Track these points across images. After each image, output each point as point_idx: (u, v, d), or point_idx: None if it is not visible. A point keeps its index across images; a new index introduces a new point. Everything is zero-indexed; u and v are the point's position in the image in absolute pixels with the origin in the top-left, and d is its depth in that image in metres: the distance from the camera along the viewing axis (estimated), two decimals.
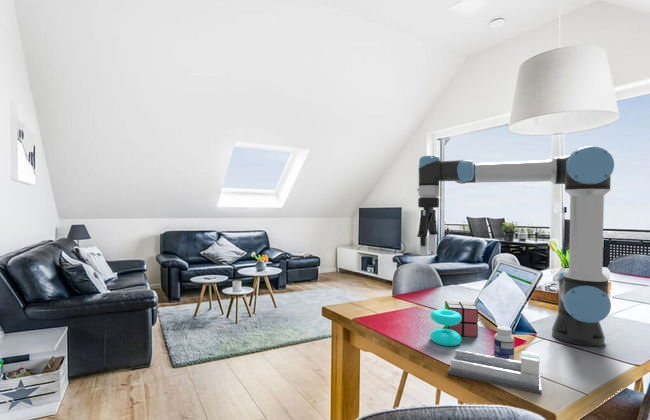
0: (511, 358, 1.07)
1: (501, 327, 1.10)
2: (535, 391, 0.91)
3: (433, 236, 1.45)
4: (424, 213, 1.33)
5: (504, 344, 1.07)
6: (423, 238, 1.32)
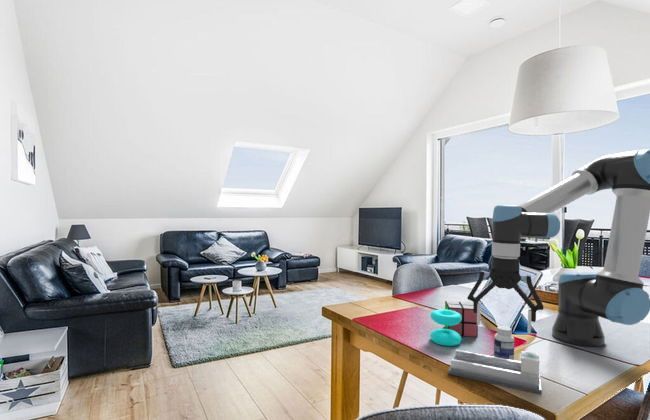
0: (511, 358, 1.07)
1: (501, 327, 1.10)
2: (535, 391, 0.91)
3: (528, 312, 1.06)
4: None
5: (504, 344, 1.07)
6: None
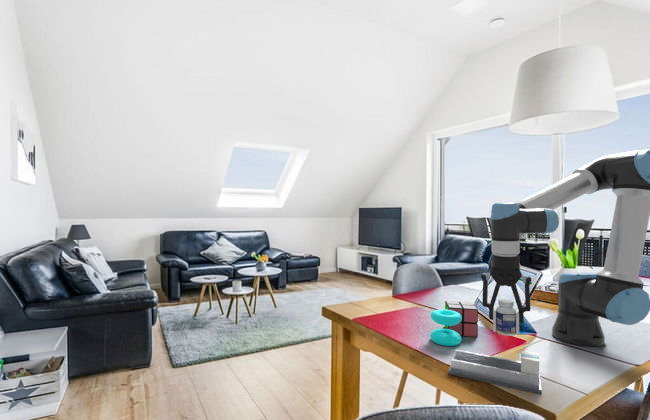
0: (514, 330, 1.07)
1: (503, 300, 1.10)
2: (535, 391, 0.91)
3: (516, 314, 1.08)
4: (482, 278, 1.12)
5: (506, 316, 1.07)
6: None
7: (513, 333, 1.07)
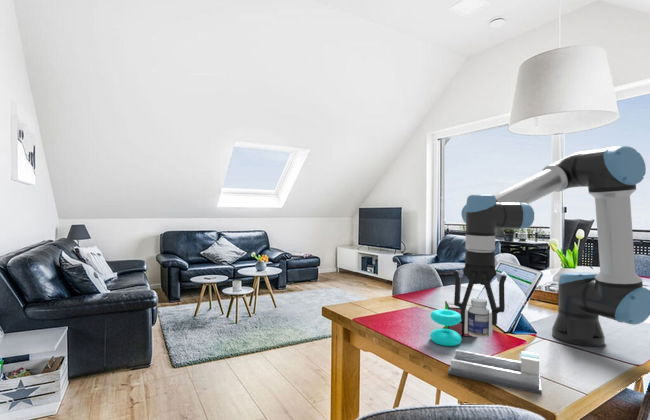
0: (486, 332, 0.99)
1: (476, 299, 1.02)
2: (535, 391, 0.91)
3: (489, 315, 1.00)
4: None
5: (478, 317, 0.99)
6: None
7: (485, 335, 0.99)
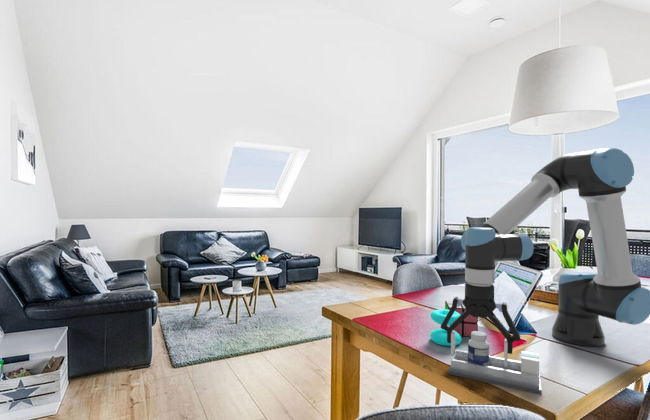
0: None
1: (475, 332, 1.02)
2: (535, 391, 0.91)
3: (504, 343, 0.98)
4: None
5: (478, 351, 0.99)
6: None
7: None
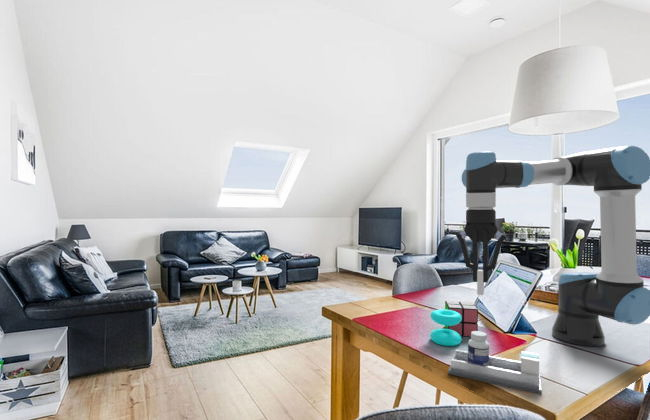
0: None
1: (475, 332, 1.02)
2: (535, 391, 0.91)
3: None
4: None
5: (478, 351, 0.99)
6: None
7: None
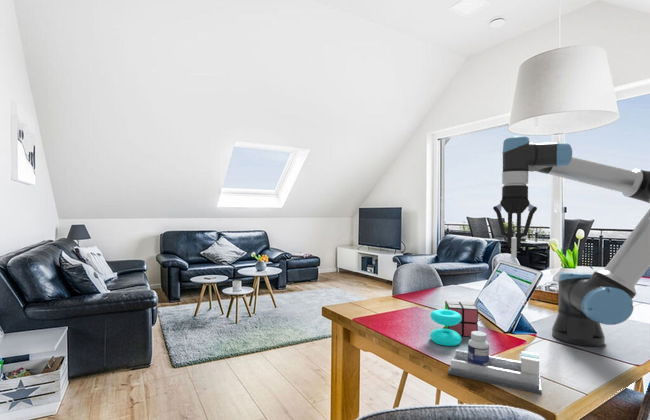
0: None
1: (475, 332, 1.02)
2: (535, 391, 0.91)
3: None
4: (495, 210, 1.22)
5: (478, 351, 0.99)
6: None
7: None
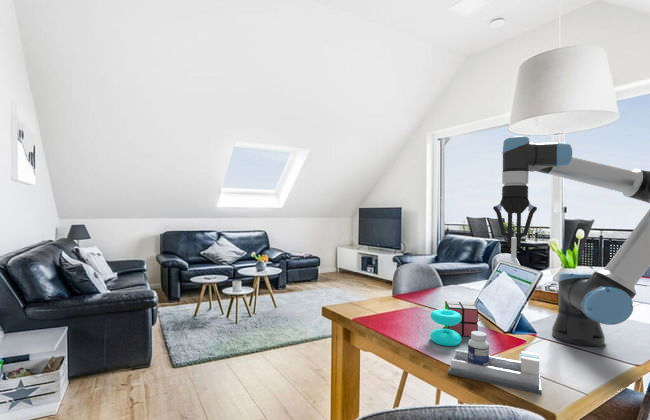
0: None
1: (475, 332, 1.02)
2: (535, 391, 0.91)
3: None
4: (495, 210, 1.22)
5: (478, 351, 0.99)
6: None
7: None
